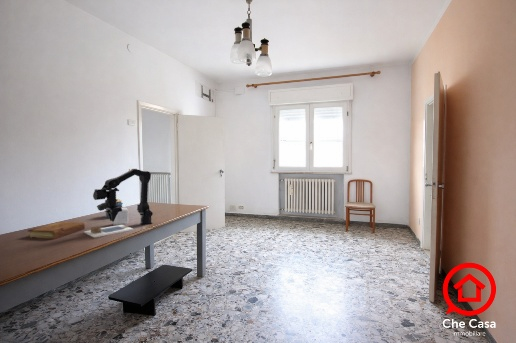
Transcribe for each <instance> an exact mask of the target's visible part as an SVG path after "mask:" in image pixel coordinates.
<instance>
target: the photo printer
mask: <svg viewBox="0 0 516 343" xmlns="http://www.w3.org/2000/svg"><path fill="white" fill-rule="evenodd" d="M124 224H129V210H128V208H127V207H123V208H122V211H121V212H118V214H117V216H116V218H115V220H114V221H113V222H112V225H113V226H117V225H124Z"/></svg>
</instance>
